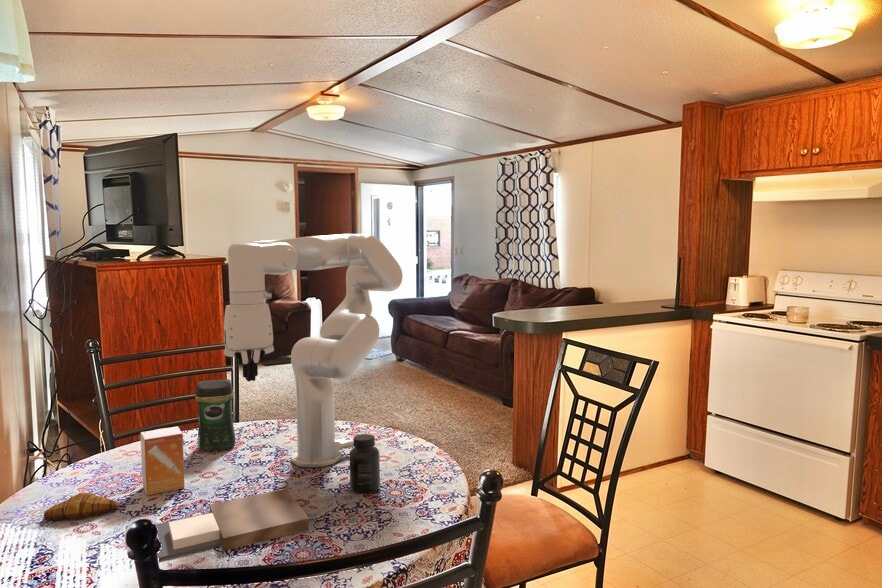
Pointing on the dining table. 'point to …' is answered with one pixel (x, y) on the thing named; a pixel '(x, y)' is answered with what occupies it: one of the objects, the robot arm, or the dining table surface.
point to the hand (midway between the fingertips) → (250, 379)
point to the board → (258, 518)
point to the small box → (162, 460)
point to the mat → (169, 552)
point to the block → (193, 531)
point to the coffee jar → (215, 415)
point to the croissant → (80, 507)
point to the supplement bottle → (364, 465)
